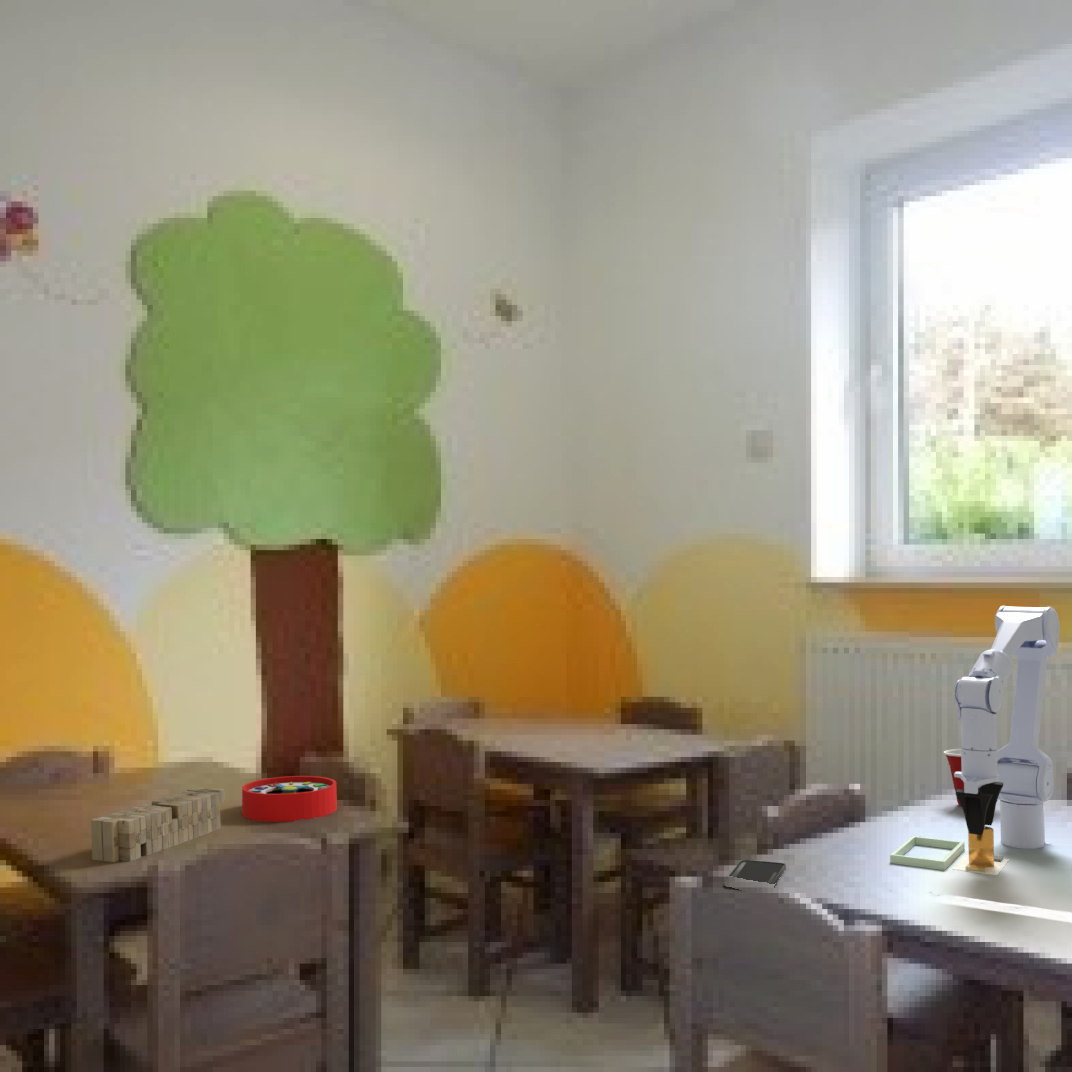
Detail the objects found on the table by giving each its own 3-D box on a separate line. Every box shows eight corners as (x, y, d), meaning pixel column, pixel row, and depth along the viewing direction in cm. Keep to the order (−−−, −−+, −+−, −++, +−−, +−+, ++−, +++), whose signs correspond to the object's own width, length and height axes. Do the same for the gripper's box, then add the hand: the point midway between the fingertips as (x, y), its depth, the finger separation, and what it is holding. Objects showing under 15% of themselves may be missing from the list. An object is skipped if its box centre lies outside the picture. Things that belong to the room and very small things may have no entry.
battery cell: (971, 859, 194) (970, 821, 194) (996, 862, 192) (995, 823, 192) (966, 865, 191) (965, 826, 191) (991, 868, 188) (990, 828, 189)
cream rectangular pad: (966, 860, 198) (966, 850, 198) (1009, 866, 194) (1009, 855, 194) (952, 876, 188) (952, 865, 188) (997, 882, 185) (997, 871, 185)
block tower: (124, 869, 204) (227, 827, 231) (123, 823, 204) (226, 786, 231) (90, 865, 207) (196, 824, 234) (89, 819, 207) (194, 783, 234)
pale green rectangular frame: (912, 849, 206) (912, 835, 206) (964, 856, 201) (964, 842, 201) (890, 869, 193) (890, 854, 193) (945, 876, 188) (944, 861, 188)
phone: (722, 882, 184) (742, 859, 198) (723, 889, 184) (742, 865, 198) (771, 887, 181) (787, 863, 195) (771, 894, 181) (787, 869, 195)
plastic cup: (961, 798, 248) (959, 743, 248) (1008, 806, 240) (1007, 749, 240) (934, 805, 241) (933, 749, 241) (982, 814, 233) (981, 755, 233)
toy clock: (267, 798, 231) (226, 784, 246) (268, 827, 231) (226, 811, 246) (353, 785, 243) (309, 772, 259) (353, 812, 243) (309, 798, 259)
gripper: (963, 740, 200) (965, 817, 200) (944, 752, 188) (946, 835, 187) (1006, 743, 196) (1007, 822, 196) (989, 756, 184) (991, 840, 183)
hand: (980, 829), depth 191 cm, fingers open, 7 cm apart
